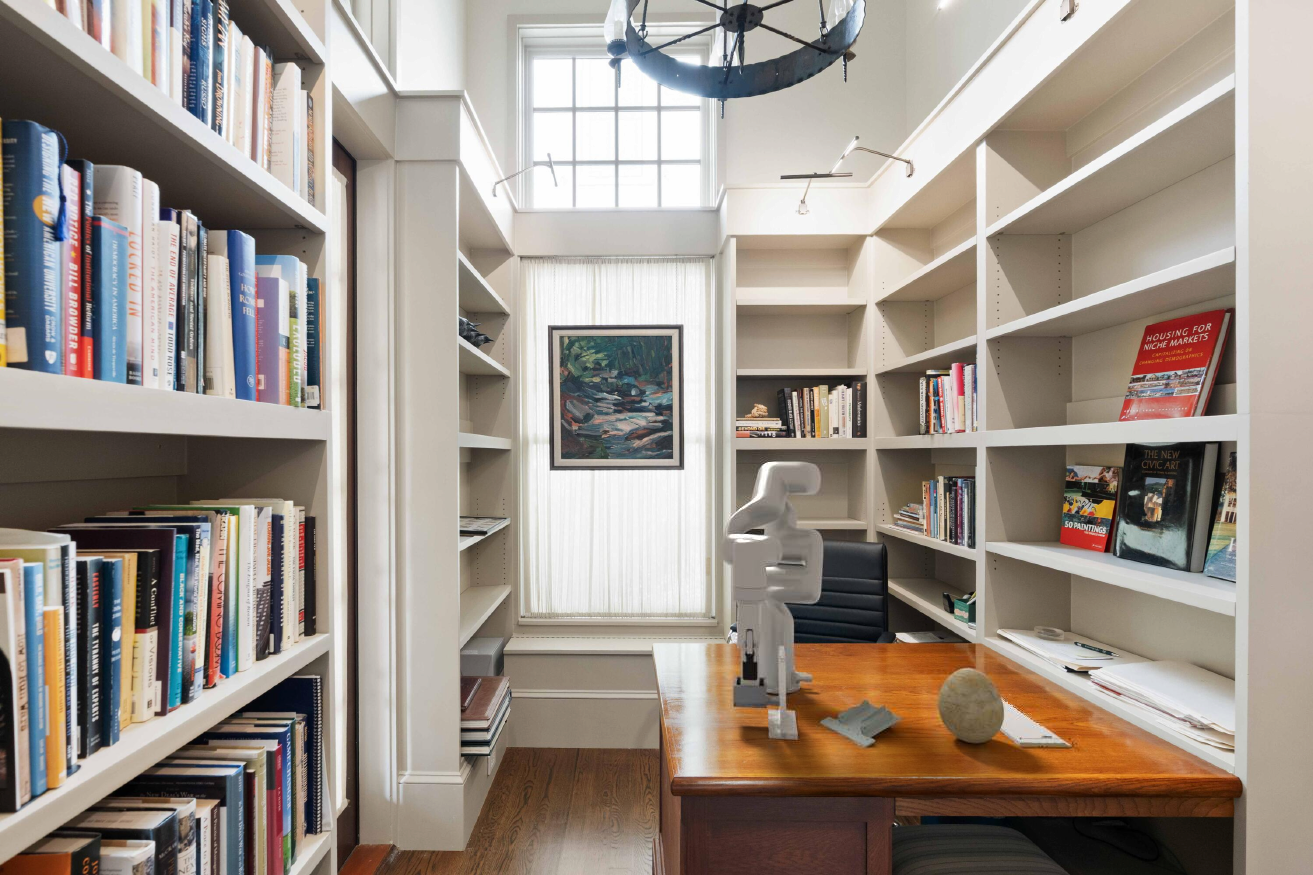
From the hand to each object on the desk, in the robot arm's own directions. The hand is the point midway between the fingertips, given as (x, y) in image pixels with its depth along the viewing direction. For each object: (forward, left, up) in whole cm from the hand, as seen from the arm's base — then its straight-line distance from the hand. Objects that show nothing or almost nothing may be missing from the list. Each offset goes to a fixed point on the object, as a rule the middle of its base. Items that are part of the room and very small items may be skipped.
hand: (750, 675), depth 156 cm
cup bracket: (-3, 0, -11) cm, 11 cm away
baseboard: (-59, -12, -12) cm, 61 cm away
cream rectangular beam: (0, 0, -3) cm, 3 cm away
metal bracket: (-25, -1, -11) cm, 27 cm away
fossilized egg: (-46, +2, -11) cm, 47 cm away
